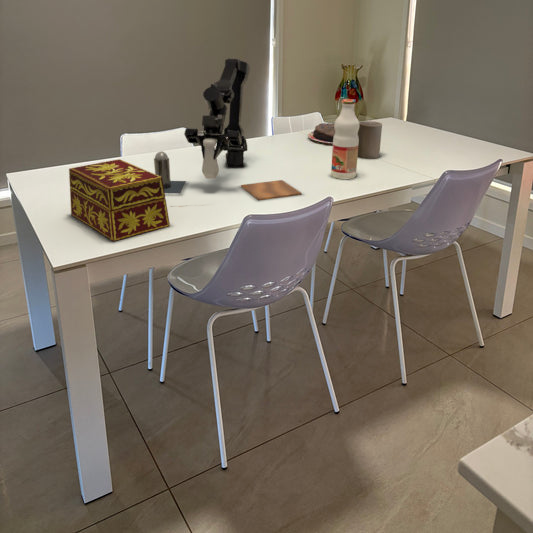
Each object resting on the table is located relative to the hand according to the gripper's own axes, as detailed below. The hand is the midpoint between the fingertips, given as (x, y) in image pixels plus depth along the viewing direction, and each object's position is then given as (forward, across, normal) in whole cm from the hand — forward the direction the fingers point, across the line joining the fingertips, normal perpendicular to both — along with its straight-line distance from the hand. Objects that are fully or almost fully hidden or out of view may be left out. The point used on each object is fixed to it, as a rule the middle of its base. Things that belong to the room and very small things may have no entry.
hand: (208, 159), depth 196 cm
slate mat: (+7, -18, +10) cm, 22 cm away
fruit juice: (-13, +43, +31) cm, 55 cm away
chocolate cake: (-54, +36, +73) cm, 98 cm away
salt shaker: (+4, 0, +6) cm, 7 cm away
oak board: (+3, +20, +14) cm, 24 cm away
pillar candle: (-35, +51, +54) cm, 82 cm away
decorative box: (+30, -20, -13) cm, 38 cm away
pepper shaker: (+7, -18, +10) cm, 21 cm away
